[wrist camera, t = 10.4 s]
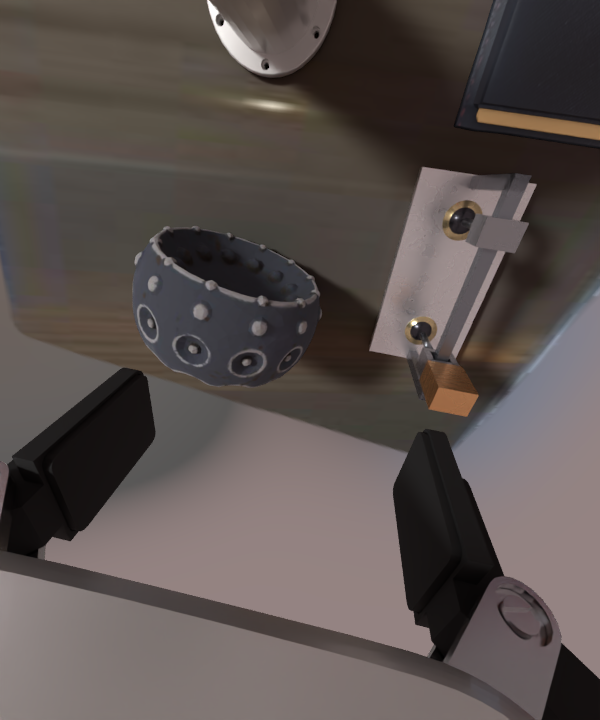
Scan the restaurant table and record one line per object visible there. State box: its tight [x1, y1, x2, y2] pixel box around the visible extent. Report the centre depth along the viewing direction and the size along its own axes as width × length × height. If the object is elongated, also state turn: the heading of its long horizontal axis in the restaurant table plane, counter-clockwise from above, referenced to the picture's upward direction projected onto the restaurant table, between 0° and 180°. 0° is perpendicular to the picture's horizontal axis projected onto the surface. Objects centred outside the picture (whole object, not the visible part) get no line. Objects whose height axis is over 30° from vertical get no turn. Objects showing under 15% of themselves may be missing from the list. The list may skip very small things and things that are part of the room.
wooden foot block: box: [416, 332, 479, 417], centre depth 35 cm, size 3×4×15 cm
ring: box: [133, 226, 322, 388], centre depth 35 cm, size 11×20×20 cm, turn 69°
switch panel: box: [369, 167, 537, 401], centre depth 34 cm, size 23×12×12 cm, turn 172°
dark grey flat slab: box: [454, 0, 600, 148], centre depth 28 cm, size 20×2×15 cm
